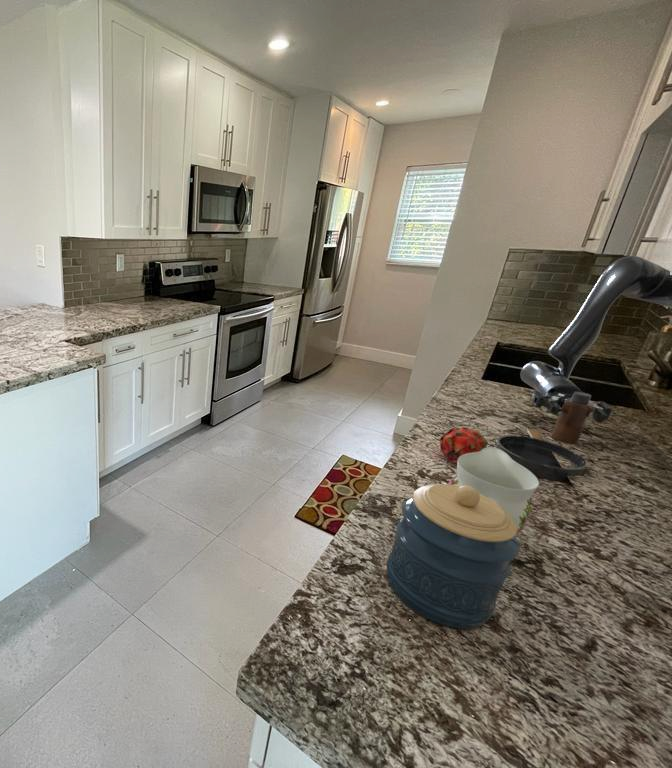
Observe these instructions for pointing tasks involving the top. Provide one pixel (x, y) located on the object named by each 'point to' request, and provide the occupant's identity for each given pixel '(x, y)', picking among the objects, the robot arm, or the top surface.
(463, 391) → the top surface
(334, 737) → the top surface
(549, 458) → the pan
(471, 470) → the pitcher
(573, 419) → the pepper mill
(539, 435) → the trivet
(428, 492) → the canister
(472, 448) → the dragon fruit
